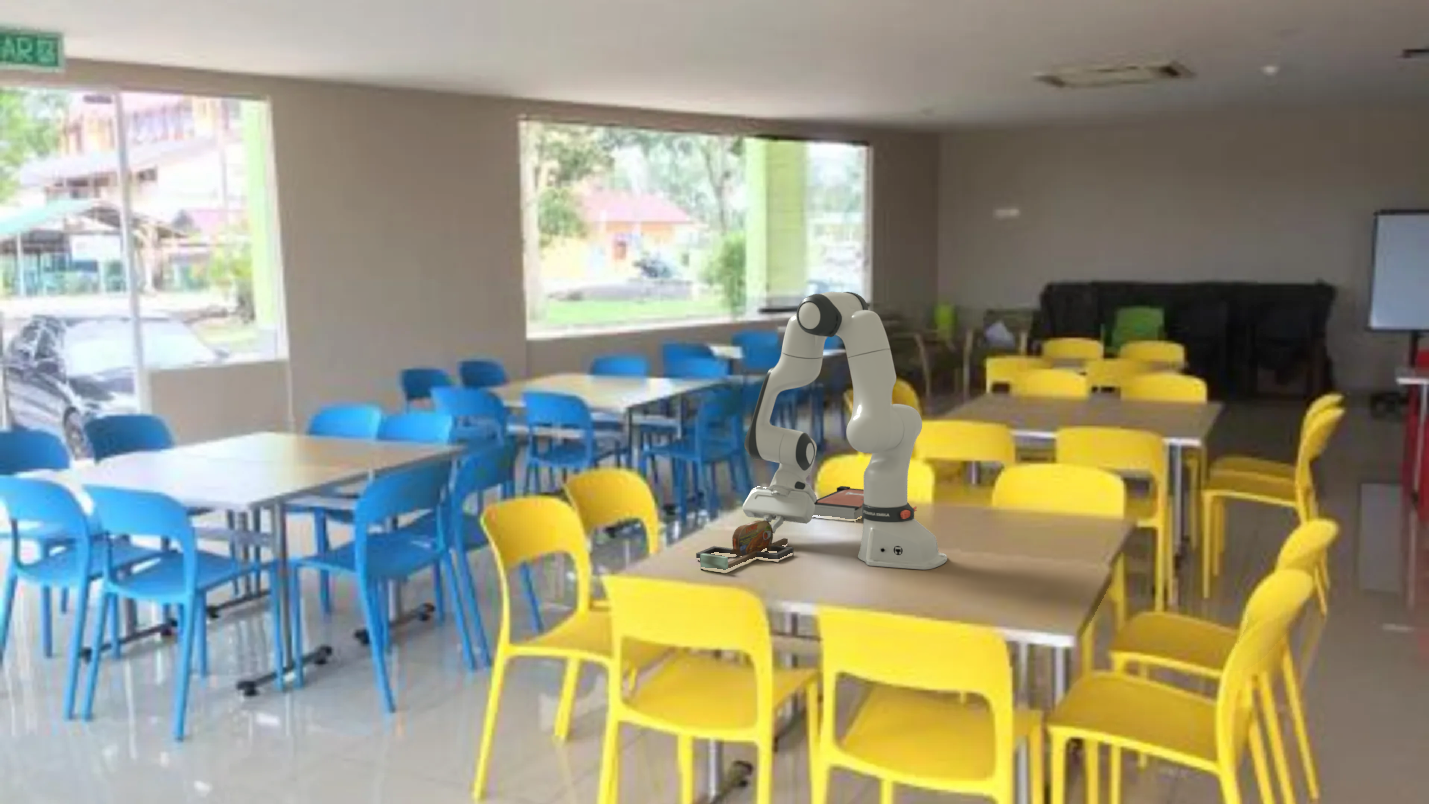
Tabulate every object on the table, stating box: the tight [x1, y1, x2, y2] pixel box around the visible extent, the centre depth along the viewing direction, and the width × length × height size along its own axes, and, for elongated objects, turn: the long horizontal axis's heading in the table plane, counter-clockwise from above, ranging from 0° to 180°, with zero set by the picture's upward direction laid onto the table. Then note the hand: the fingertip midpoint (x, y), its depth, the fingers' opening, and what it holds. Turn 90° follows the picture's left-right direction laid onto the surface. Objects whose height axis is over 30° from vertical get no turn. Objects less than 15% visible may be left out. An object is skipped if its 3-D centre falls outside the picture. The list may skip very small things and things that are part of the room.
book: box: [813, 485, 864, 519], centre depth 359 cm, size 26×18×5 cm
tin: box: [731, 519, 774, 557], centre depth 311 cm, size 15×3×8 cm, turn 141°
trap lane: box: [695, 537, 794, 570], centre depth 308 cm, size 19×31×4 cm, turn 147°
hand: (768, 531), depth 317 cm, fingers closed
